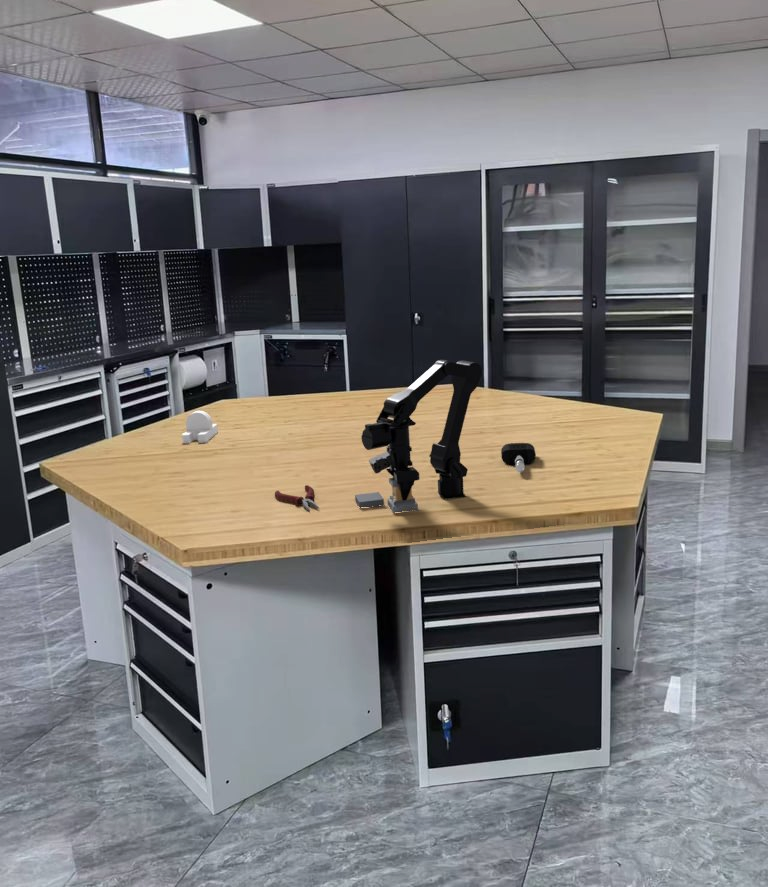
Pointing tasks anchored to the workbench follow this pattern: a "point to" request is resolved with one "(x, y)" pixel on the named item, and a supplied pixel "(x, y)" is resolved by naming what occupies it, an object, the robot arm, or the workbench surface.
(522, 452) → the audio adapter
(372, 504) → the stand
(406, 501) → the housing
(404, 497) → the robot arm
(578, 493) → the workbench surface
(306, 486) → the pliers
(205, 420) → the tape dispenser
